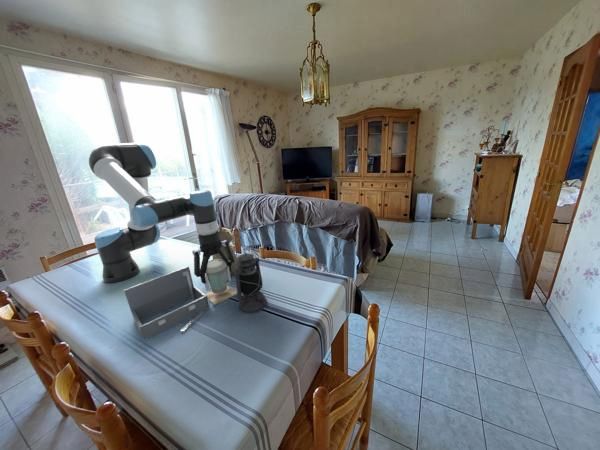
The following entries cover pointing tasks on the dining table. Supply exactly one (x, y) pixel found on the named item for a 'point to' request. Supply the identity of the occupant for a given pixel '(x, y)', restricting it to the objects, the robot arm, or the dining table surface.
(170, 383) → the dining table surface
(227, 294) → the cork pad
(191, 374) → the dining table surface
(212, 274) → the coffee cup
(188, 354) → the dining table surface
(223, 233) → the bear
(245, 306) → the lantern
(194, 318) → the bar
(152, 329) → the case
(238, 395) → the dining table surface
